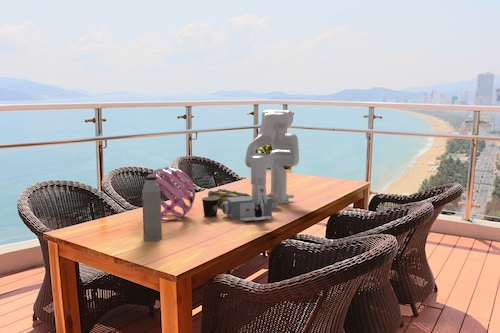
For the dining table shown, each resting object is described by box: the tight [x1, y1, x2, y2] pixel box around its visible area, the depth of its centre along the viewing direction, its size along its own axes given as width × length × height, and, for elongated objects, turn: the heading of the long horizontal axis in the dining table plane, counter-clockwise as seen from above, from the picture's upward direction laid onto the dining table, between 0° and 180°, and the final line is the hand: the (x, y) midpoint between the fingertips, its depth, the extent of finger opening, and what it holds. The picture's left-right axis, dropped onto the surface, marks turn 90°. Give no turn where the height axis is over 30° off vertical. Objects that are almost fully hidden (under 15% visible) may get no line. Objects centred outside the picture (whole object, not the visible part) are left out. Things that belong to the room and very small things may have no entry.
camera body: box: [221, 195, 273, 220], centre depth 246 cm, size 25×10×11 cm, turn 108°
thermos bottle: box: [141, 176, 163, 242], centre depth 208 cm, size 8×8×28 cm
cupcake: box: [266, 191, 279, 210], centre depth 264 cm, size 9×9×10 cm
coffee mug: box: [201, 196, 221, 219], centre depth 247 cm, size 12×9×10 cm
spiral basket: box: [144, 166, 196, 222], centre depth 243 cm, size 28×28×27 cm
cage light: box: [207, 188, 251, 209], centre depth 273 cm, size 15×8×30 cm
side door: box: [238, 216, 272, 222], centre depth 237 cm, size 14×1×13 cm
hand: (258, 216), depth 233 cm, fingers closed
